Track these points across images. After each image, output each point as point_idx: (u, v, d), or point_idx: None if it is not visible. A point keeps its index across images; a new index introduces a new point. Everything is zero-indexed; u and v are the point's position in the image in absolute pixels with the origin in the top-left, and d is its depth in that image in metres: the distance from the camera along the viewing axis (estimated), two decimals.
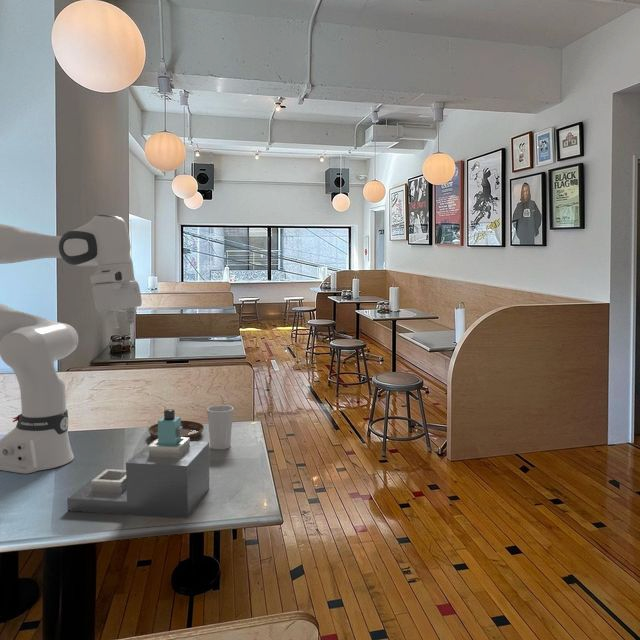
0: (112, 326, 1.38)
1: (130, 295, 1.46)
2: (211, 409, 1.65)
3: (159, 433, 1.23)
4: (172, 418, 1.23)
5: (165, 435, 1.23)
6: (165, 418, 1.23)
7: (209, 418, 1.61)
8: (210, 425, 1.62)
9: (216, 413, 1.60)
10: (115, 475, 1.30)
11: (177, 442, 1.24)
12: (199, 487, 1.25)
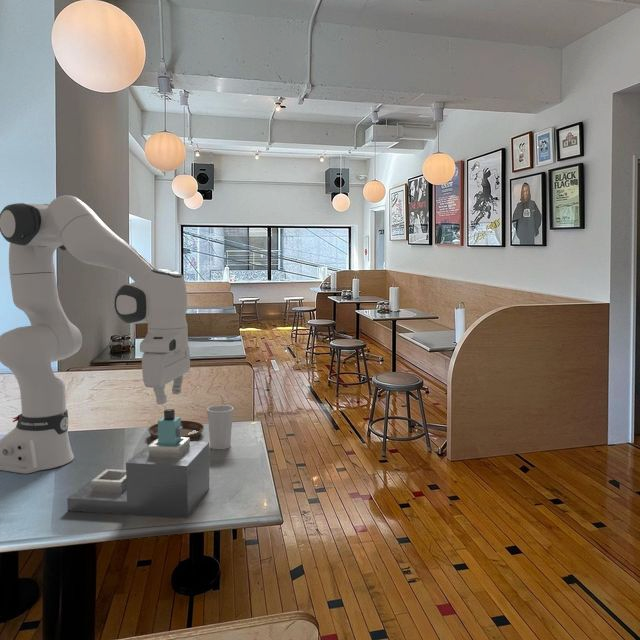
0: (159, 401, 1.18)
1: (180, 362, 1.25)
2: (211, 409, 1.65)
3: (159, 433, 1.23)
4: (172, 418, 1.23)
5: (165, 435, 1.23)
6: (165, 418, 1.23)
7: (209, 418, 1.61)
8: (210, 425, 1.62)
9: (216, 413, 1.60)
10: (115, 475, 1.30)
11: (177, 442, 1.24)
12: (199, 487, 1.25)
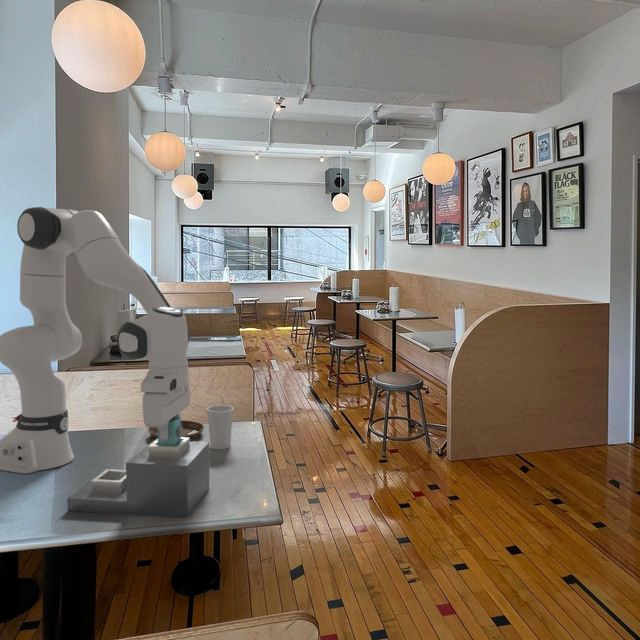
0: (162, 437, 1.21)
1: (180, 398, 1.26)
2: (211, 409, 1.65)
3: (159, 433, 1.23)
4: (172, 418, 1.23)
5: None
6: None
7: (209, 418, 1.61)
8: (210, 425, 1.62)
9: (216, 413, 1.60)
10: (115, 475, 1.30)
11: (177, 442, 1.24)
12: (199, 487, 1.25)
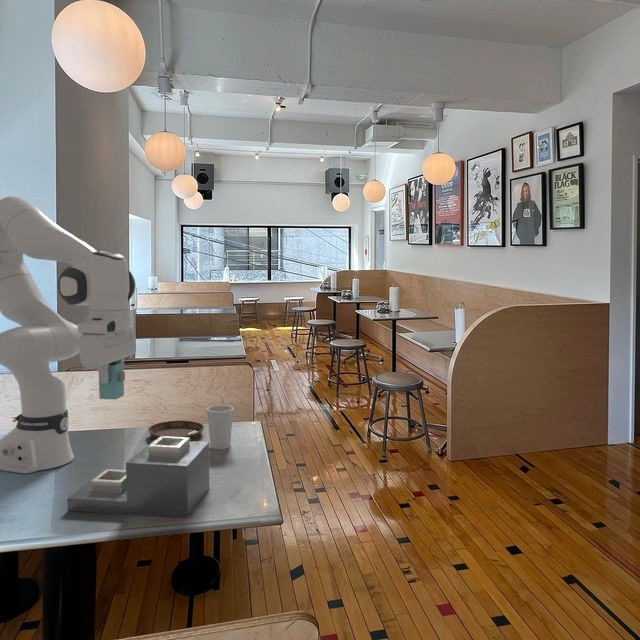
0: (102, 380, 1.21)
1: (123, 344, 1.26)
2: (211, 409, 1.65)
3: None
4: (113, 363, 1.23)
5: None
6: None
7: (209, 418, 1.61)
8: (210, 425, 1.62)
9: (216, 413, 1.60)
10: (115, 475, 1.30)
11: (119, 387, 1.24)
12: (199, 487, 1.25)
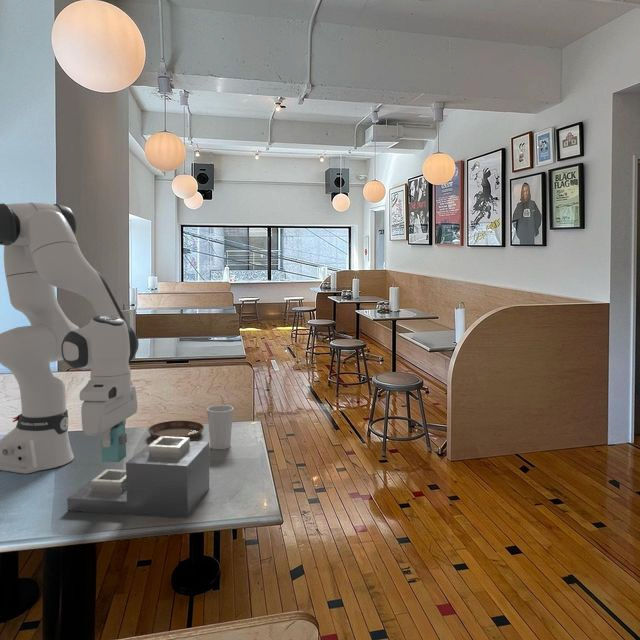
0: (105, 444, 1.22)
1: (125, 406, 1.28)
2: (211, 409, 1.65)
3: None
4: (115, 425, 1.25)
5: None
6: None
7: (209, 418, 1.61)
8: (210, 425, 1.62)
9: (216, 413, 1.60)
10: (115, 475, 1.30)
11: (121, 449, 1.25)
12: (199, 487, 1.25)
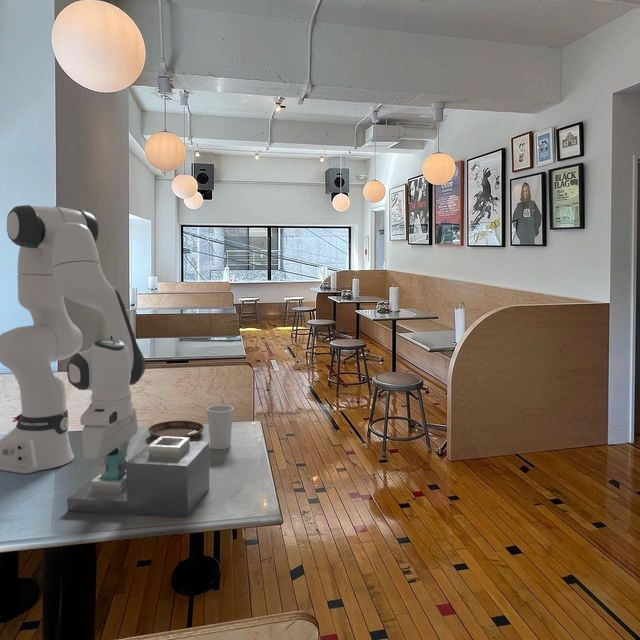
0: (100, 471, 1.21)
1: (125, 428, 1.28)
2: (211, 409, 1.65)
3: None
4: (115, 453, 1.26)
5: (108, 470, 1.25)
6: None
7: (209, 418, 1.61)
8: (210, 425, 1.62)
9: (216, 413, 1.60)
10: None
11: (121, 476, 1.26)
12: (199, 487, 1.25)
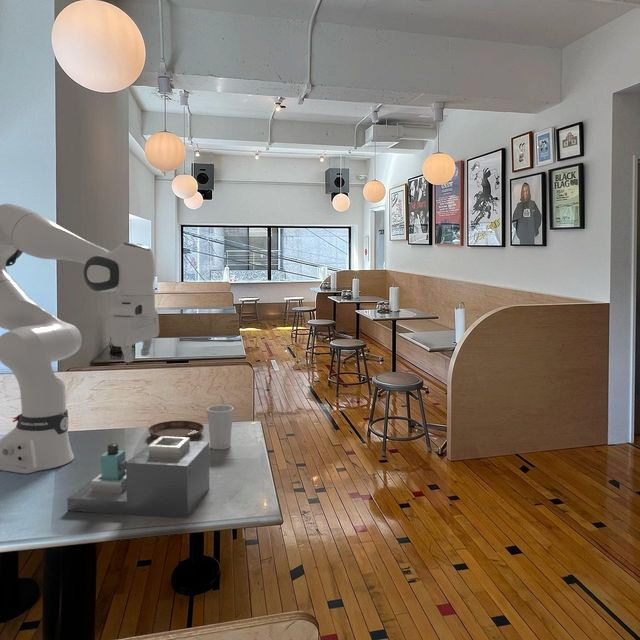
0: (126, 360, 1.33)
1: (148, 327, 1.40)
2: (211, 409, 1.65)
3: (102, 467, 1.25)
4: (115, 453, 1.26)
5: (108, 470, 1.25)
6: (108, 453, 1.25)
7: (209, 418, 1.61)
8: (210, 425, 1.62)
9: (216, 413, 1.60)
10: None
11: (121, 476, 1.26)
12: (199, 487, 1.25)
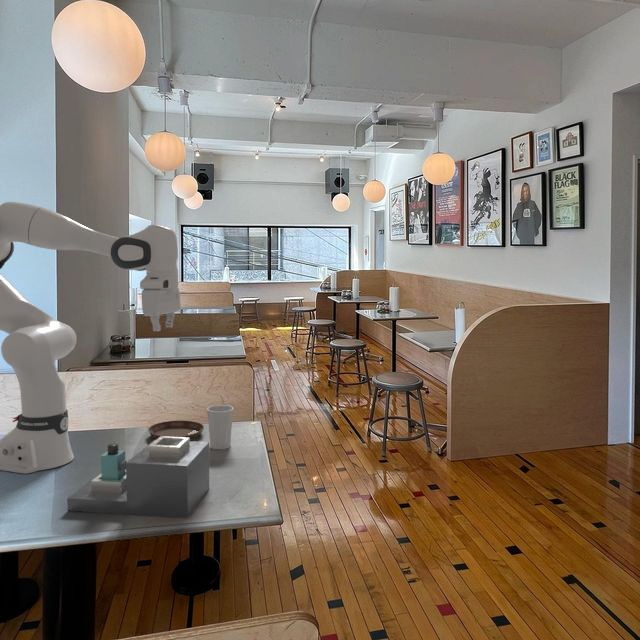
0: (154, 329, 1.50)
1: (172, 301, 1.57)
2: (211, 409, 1.65)
3: (102, 467, 1.25)
4: (115, 453, 1.26)
5: (108, 470, 1.25)
6: (108, 453, 1.25)
7: (209, 418, 1.61)
8: (210, 425, 1.62)
9: (216, 413, 1.60)
10: None
11: (121, 476, 1.26)
12: (199, 487, 1.25)
